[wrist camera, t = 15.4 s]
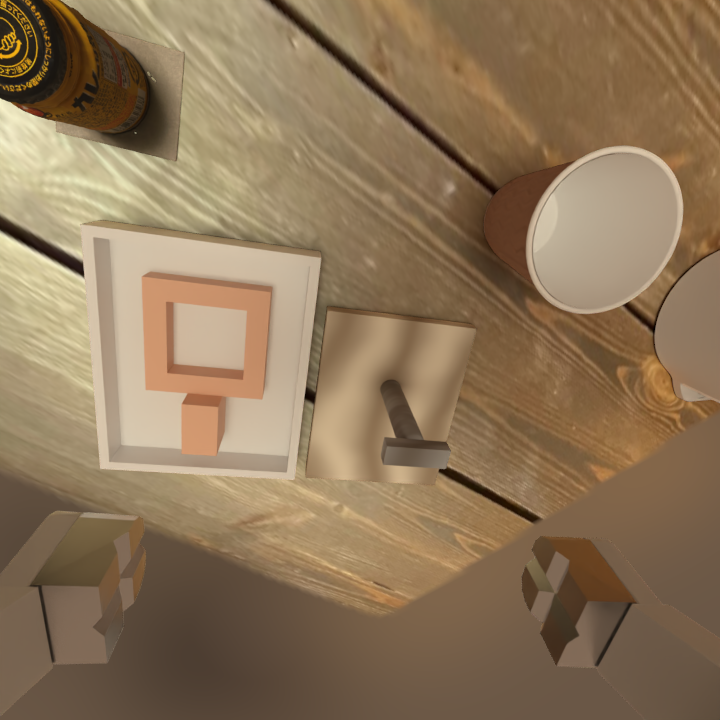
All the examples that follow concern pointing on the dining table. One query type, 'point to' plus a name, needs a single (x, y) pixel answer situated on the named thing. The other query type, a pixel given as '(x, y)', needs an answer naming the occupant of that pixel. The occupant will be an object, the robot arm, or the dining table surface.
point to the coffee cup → (589, 227)
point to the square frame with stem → (201, 383)
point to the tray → (196, 348)
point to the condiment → (90, 77)
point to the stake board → (359, 394)
